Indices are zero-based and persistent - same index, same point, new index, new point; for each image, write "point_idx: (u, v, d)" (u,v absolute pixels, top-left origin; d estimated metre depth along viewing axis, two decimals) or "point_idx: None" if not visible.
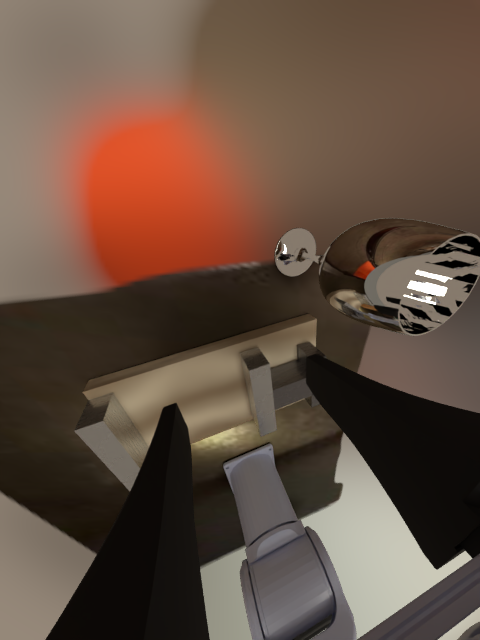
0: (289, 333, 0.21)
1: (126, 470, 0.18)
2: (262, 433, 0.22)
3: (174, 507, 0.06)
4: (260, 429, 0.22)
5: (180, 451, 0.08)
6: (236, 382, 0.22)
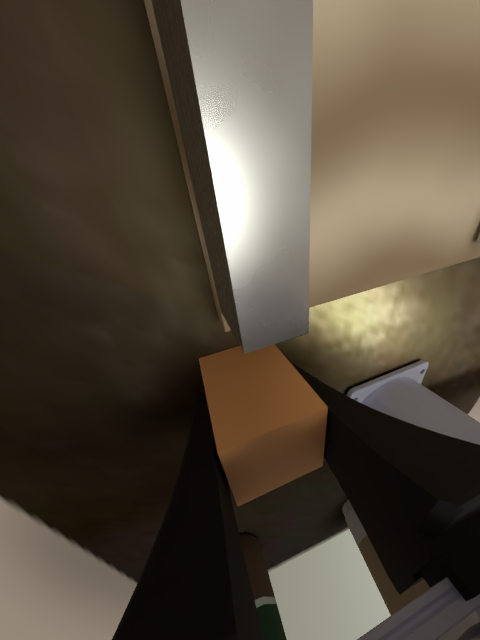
0: None
1: (265, 216, 0.04)
2: None
3: (221, 486, 0.06)
4: None
5: None
6: None
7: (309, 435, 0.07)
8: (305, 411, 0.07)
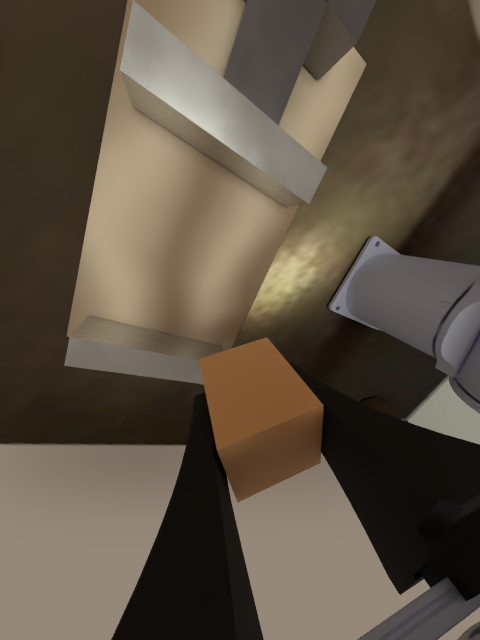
0: None
1: (184, 370, 0.14)
2: (306, 194, 0.12)
3: (221, 486, 0.06)
4: (293, 190, 0.11)
5: None
6: (200, 173, 0.12)
7: (306, 433, 0.08)
8: (301, 409, 0.07)
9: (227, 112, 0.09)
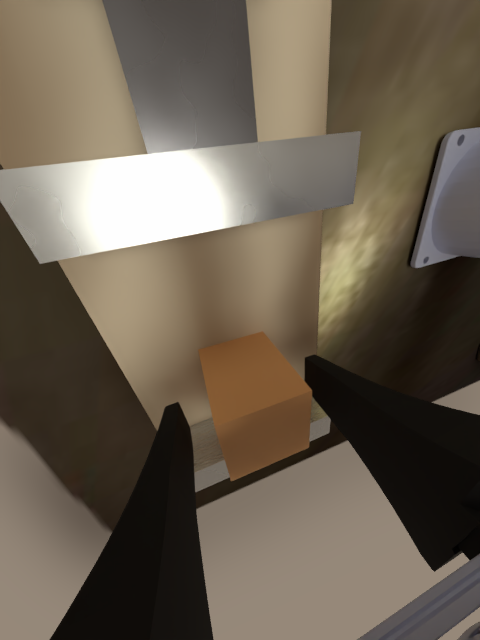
0: None
1: None
2: (343, 195, 0.07)
3: (177, 505, 0.06)
4: (322, 205, 0.07)
5: (183, 450, 0.08)
6: (189, 253, 0.09)
7: (296, 416, 0.08)
8: (292, 393, 0.08)
9: (181, 192, 0.06)
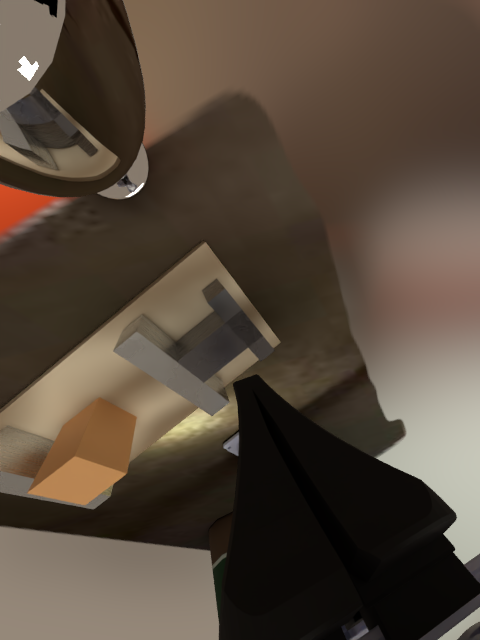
0: (177, 279, 0.15)
1: None
2: (211, 411, 0.17)
3: None
4: (203, 409, 0.17)
5: None
6: None
7: (105, 480, 0.14)
8: (118, 468, 0.14)
9: (173, 374, 0.15)
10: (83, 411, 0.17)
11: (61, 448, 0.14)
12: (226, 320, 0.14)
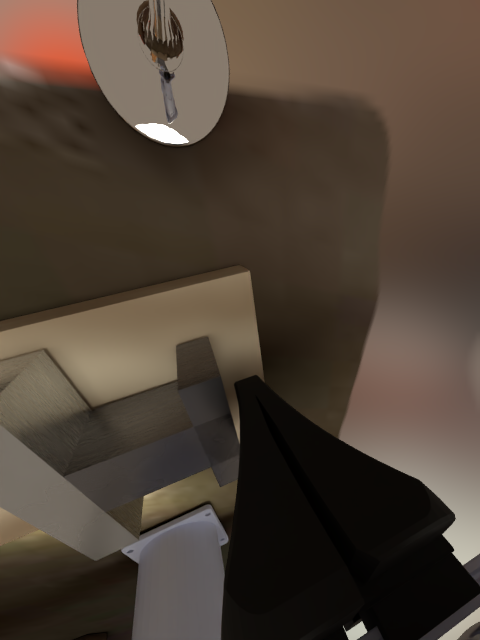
0: (180, 305, 0.09)
1: None
2: (97, 554, 0.09)
3: None
4: (84, 551, 0.09)
5: None
6: None
7: None
8: None
9: (43, 496, 0.07)
10: None
11: None
12: (196, 423, 0.08)
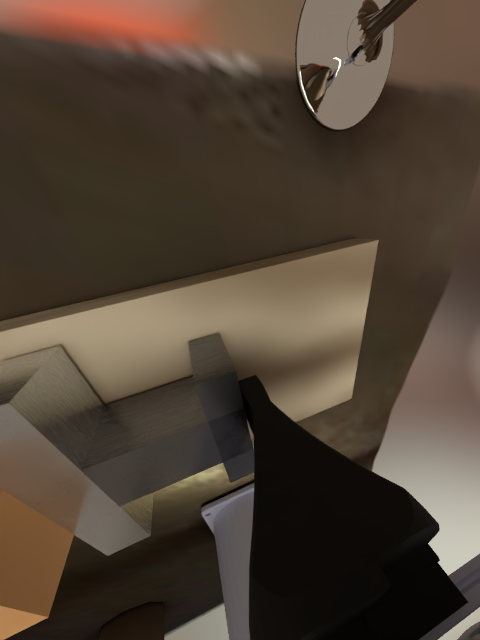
0: (322, 268, 0.10)
1: None
2: (110, 549, 0.09)
3: None
4: (97, 545, 0.09)
5: None
6: None
7: None
8: (35, 604, 0.06)
9: (61, 489, 0.07)
10: None
11: None
12: (210, 418, 0.08)
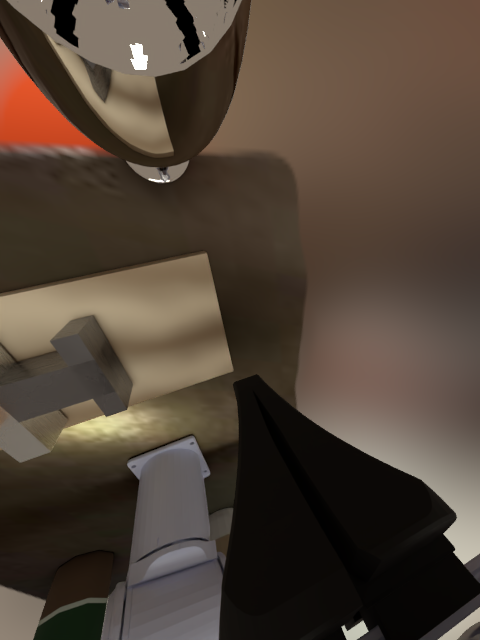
0: (165, 272, 0.15)
1: None
2: (20, 457, 0.14)
3: None
4: (9, 452, 0.14)
5: None
6: None
7: None
8: None
9: None
10: None
11: None
12: (71, 364, 0.13)
